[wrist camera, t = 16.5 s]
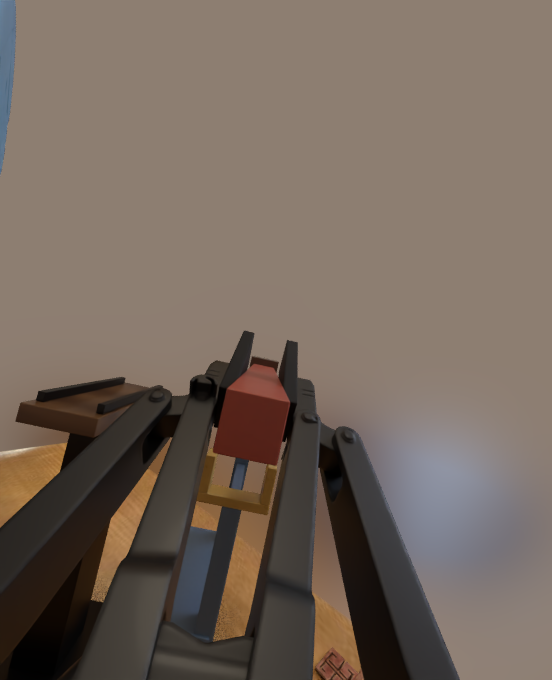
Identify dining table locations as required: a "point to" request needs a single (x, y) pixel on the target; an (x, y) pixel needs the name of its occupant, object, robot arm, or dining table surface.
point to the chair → (214, 548)
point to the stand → (75, 594)
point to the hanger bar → (254, 415)
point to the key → (334, 665)
